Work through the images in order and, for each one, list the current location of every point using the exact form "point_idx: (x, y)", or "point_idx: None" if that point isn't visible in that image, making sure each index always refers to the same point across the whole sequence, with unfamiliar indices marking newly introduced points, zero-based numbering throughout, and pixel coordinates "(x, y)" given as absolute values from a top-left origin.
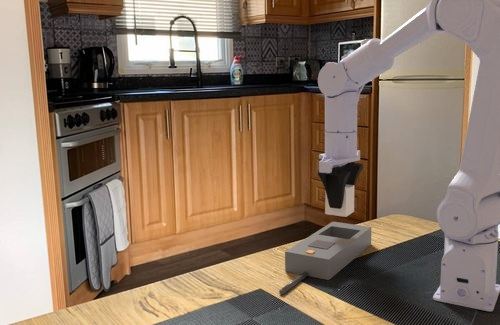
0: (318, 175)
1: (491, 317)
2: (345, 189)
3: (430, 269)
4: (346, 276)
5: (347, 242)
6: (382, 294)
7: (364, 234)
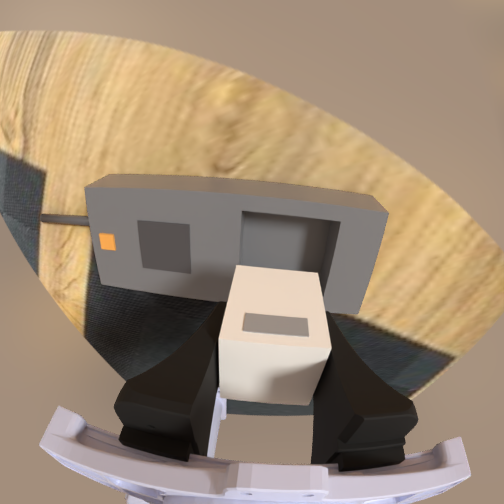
0: (132, 378)
1: None
2: (221, 396)
3: None
4: None
5: (212, 294)
6: (131, 331)
7: None
